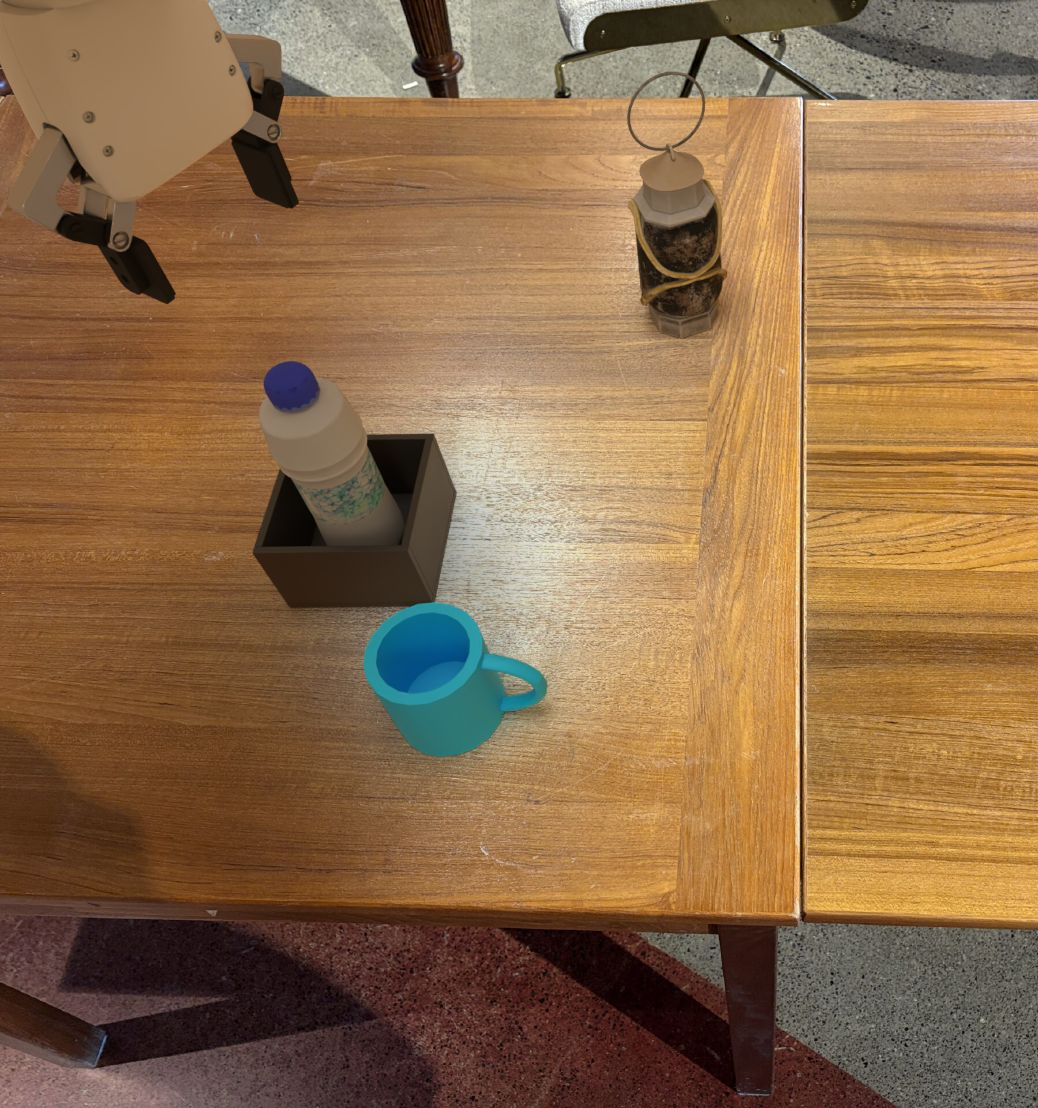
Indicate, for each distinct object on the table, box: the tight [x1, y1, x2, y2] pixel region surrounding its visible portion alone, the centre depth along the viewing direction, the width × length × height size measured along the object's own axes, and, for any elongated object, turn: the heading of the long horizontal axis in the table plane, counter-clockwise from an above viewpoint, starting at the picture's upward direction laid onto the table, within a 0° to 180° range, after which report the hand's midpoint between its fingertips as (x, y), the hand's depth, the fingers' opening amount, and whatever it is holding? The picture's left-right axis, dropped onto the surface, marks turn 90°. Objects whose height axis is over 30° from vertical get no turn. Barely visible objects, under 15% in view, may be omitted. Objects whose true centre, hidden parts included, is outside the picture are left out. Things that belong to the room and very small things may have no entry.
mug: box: [362, 601, 548, 758], centre depth 77 cm, size 12×8×8 cm
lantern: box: [626, 70, 728, 339], centre depth 94 cm, size 9×8×25 cm
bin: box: [252, 432, 457, 609], centre depth 86 cm, size 12×12×8 cm
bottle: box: [258, 360, 406, 546], centre depth 80 cm, size 7×7×20 cm
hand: (218, 245), depth 62 cm, fingers open, 9 cm apart
